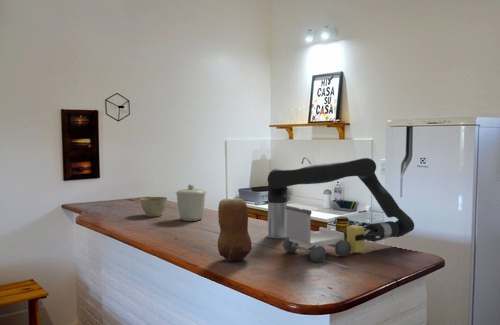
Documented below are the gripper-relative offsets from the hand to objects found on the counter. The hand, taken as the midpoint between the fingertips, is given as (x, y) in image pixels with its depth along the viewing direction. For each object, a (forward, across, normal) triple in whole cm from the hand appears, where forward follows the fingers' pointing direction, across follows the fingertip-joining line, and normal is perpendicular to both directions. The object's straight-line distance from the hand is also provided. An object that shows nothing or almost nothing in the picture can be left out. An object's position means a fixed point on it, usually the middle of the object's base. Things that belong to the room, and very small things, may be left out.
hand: (350, 237), depth 180 cm
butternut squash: (+44, -20, +7) cm, 49 cm away
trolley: (+11, -8, +7) cm, 16 cm away
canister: (+21, -107, +7) cm, 109 cm away
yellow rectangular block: (-3, 0, +6) cm, 7 cm away
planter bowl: (+35, -132, +7) cm, 137 cm away
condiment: (-10, -16, +8) cm, 20 cm away
